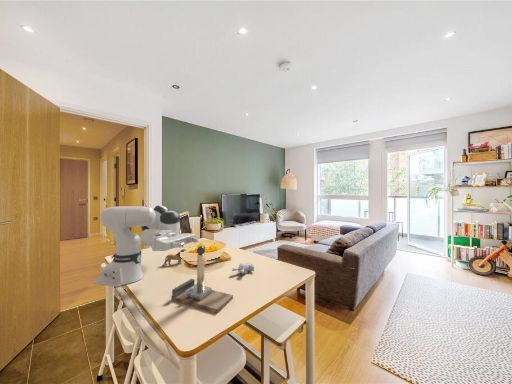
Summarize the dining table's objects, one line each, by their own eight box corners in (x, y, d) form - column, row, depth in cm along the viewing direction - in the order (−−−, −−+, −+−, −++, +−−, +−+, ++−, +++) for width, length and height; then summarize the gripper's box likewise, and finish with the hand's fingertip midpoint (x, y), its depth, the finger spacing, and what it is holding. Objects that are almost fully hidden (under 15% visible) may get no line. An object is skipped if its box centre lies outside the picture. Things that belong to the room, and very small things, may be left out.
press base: (171, 299, 88) (171, 289, 88) (190, 287, 99) (190, 278, 99) (217, 313, 78) (217, 301, 78) (232, 298, 89) (233, 288, 89)
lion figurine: (185, 260, 137) (185, 247, 137) (187, 263, 132) (187, 249, 132) (161, 265, 128) (161, 251, 128) (163, 267, 124) (163, 253, 124)
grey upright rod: (185, 297, 86) (185, 247, 86) (200, 287, 95) (200, 242, 95) (198, 301, 83) (199, 250, 83) (212, 290, 93) (213, 244, 92)
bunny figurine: (258, 263, 123) (244, 268, 110) (257, 271, 122) (243, 277, 109) (245, 260, 128) (230, 264, 115) (244, 268, 127) (229, 274, 114)
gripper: (183, 241, 106) (204, 244, 101) (149, 251, 88) (172, 256, 82) (183, 229, 106) (204, 231, 101) (149, 237, 88) (173, 240, 82)
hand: (190, 242), depth 91 cm, fingers open, 8 cm apart
